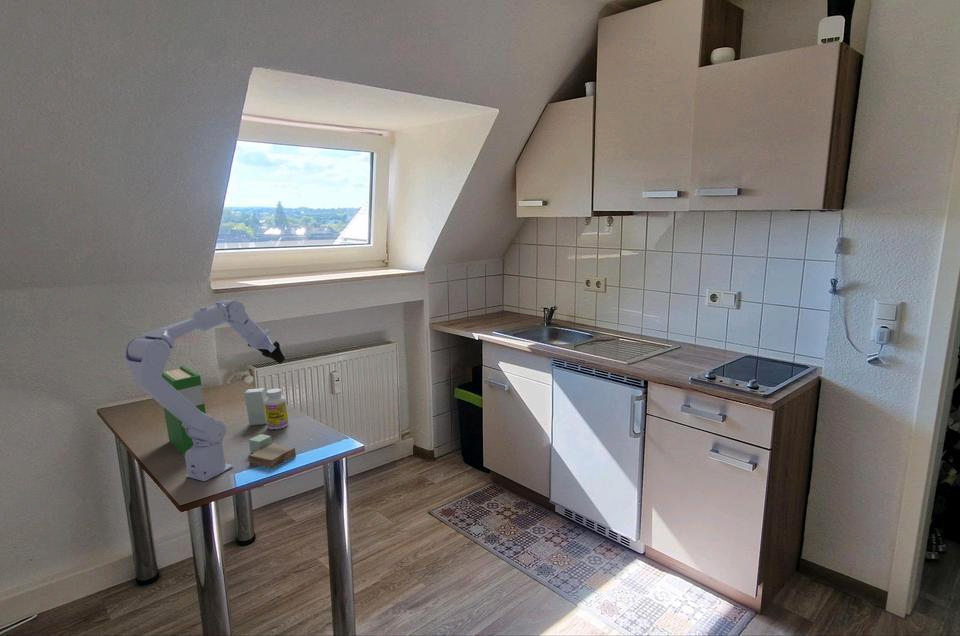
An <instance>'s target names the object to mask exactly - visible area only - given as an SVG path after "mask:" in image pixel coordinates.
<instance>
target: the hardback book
mask: <svg viewBox="0 0 960 636" xmlns="http://www.w3.org/2000/svg"><path fill="white" fill-rule="evenodd" d="M162 378H163V379H165V380H166V381H167V382H168V383H169V384H170V385H171V386H173V387H174V388H175V389H176V390H177V391H178V392H179V393H181V394H182V395H183V396H184V397H185V398H186V399H188V400H189V401H190V402H191V403H192V404H193V405H194V406H196V407H197V408H198V409H199V410H200V411H201V412H203V413H205V414H207V413H206V405H205V400H204V392H203V387H202V386H203V385H202V379H201V375H200V374H198V373H197V372H195V371H193V370H191V369H190V368H188V367H186V366H184V365H179V368H176V369H172V370H167V371H163V373H162ZM163 411H164V416H165V424H166V428H167V429H166V431H167V436H168V441H169V443H170V444H171V445H172V444H173V445H174V446H175V447H176V448H177V449H176V448H175V447H174V448H175V449H176V450H177V451H178V452H179V453H181V455H183V456H184V457H185V453H186V451H187V450H189V449H190V448H191V447H192V446H193V445H194V443H193V441H192V438H190V437H189V436H188V435H187V433H186V430H185V428H184V427H183V426H182V422H181V421H180V420H179V419H178V418H176V417H175V416H174V415H173V414H171V413H170V412H169V411H168V410H167V409H165V408H164V407H163ZM173 445H172V446H173Z"/></svg>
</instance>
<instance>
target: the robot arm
mask: <svg viewBox="0 0 960 636" xmlns="http://www.w3.org/2000/svg"><path fill="white" fill-rule="evenodd" d="M225 323H227V324H228V325H229V326H230V327H231V328H232V329H233V330H234V331H235V332H236V333H237V334H238V335H239V336H240V337H241V338H242V339H243V340H244V341H245V342H246V343H247V346H248V347H250V348H251V349H255V350H256V351H259V352H261V355H262V356H263V357H266V358H270V359H271V360H274V361H275V362H277V363H278V364H280V365H281V364H282V363H283V362H284V361H285V360H286V357H285V356H284V354H283V352H282V350H281V346H280V342H278V340H277V341H276V340H275V341H274V343H272V341H271V339H270V337H269V334H270V333H271V332H270V330H269V329H268V328H267V329H265V330H263V329H262V328H261V327H260V325H258V323H257V322H255V320H254V319H253V318H252V317H251V316H250V315H249V314H248V313H247V312H246V308H245V305H244V304H243V302H239V301H237V300H231V299H230V300H225V299H223V300H217V301H216V302H215V303H214V305H211V306H208V307H207V306H202V307H199V310H198V311H195V312H194V314H193V316H192V317H191V318H188V319H186V320H183V321H179V322H176V323H173V324H169V325H166V326H162V327H160V328H157V329H153V330H150V331H147V332H144V333H143V334H141V335H140V336H137V337H133V338H131V339H130V340H129V341H128V342H127V344H126V346H125V351H124V358H123V359H124V360H125V362H126V363H127V364H128V365H129V369H130V371H131V375H132V378H133V381H134V383H135V384H136V386H138V388H140V389H141V390H142V391H143V392H145V393H146V395H148V396H150V397H151V398H152V399H153V400H154V401H156V402H157V403H158V404H159V405H160V406H161V407H163V409H164V408H165V409H167V410H168V411H169V412H170V413H171V414H173V415H174V416H175V417H176V418H178V419H179V420H180V421H181V422H182V426H183V427H184V428H185V430H186V433H187V435H188V436H189V437H190V438H192V441H193V443H194V445H193V446H192V447H191V448H190V449H189V450H187V451H186V453H185V456H184V459H185V466H186V472H187V474H186V475H185V476H186V477H187V478H190V479H195V480H197V481H201V482H207V481H209V480H211V479H212V478H215V477H216V476H219V475H220V474H222V473H224V472H226V471H228V470H230V469H232V468H233V467H234V465H233V464H229V463H226V457H225V451H224V450H225V449H224V442H223V441H224V438H225V436H226V433H227V426H226V423H224V422H223V421H222V420H219V419H215V418H213V417H212V416H211V415H209V414H207V413H206V414H205V413H203V412H201V411H200V410H199V409H198V408H197V407H196V406H194V405H193V404H192V403H191V402H190V401H189V400H188V399H186V398H185V397H184V396H183V395H182V394H181V393H179V392H178V391H177V390H176V389H175V388H174V387H173V386H171V385H170V384H169V383H168V382H167V381H166V380H165V379H163V378H162V373H163V372H164V370H165V368H166V365H167V363H168V361H169V359H170V356H171V352H172V350H171V349H174V348H175V341H176V340H177V339H180V338H181V337H184V336H186V335H188V334H190V333H193V332H194V331H195V332H196V330H200V331H203V332H206V331H208V330H211V329H213V328H216V327H219V326H220V325H223V324H225Z"/></svg>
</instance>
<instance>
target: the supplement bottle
mask: <svg viewBox="0 0 960 636" xmlns="http://www.w3.org/2000/svg"><path fill="white" fill-rule="evenodd" d="M282 394H283V393H282V389H281V388H271V389H267V391H266V398H267V399H266V400H265V409H266V417H267V424H266V425H267V428H268V429H269V430H273V429H275V430H281V429H284V428H286V427H287V426H288V424H289V420H288V409H287V402H286V401H287V400H286V397H285V396H284V395H282Z"/></svg>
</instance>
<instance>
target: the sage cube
mask: <svg viewBox="0 0 960 636" xmlns="http://www.w3.org/2000/svg"><path fill="white" fill-rule="evenodd" d="M248 442H249V443H248V444H249V450H250V454H251V453H255V452H257V451H259V450H261V449H263V448H265V447H267V446H269V445H271V444H273V441H272V435H267V434H261V433H260V434H258V435H256V436H253V437H252V438H249V439H248Z"/></svg>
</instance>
